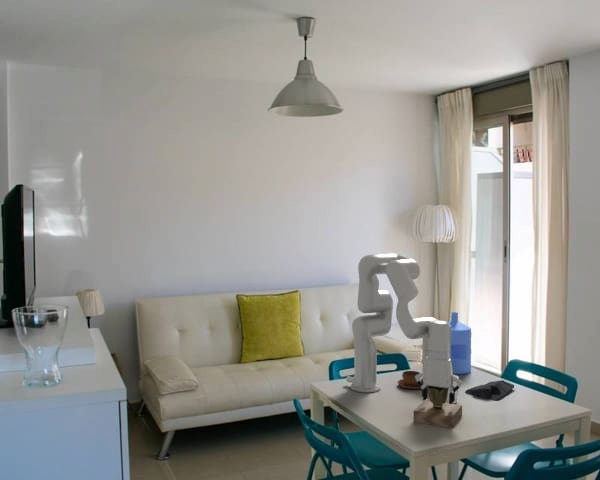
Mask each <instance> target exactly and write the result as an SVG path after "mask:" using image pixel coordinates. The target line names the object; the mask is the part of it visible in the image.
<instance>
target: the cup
mask: <svg viewBox="0 0 600 480" xmlns="http://www.w3.org/2000/svg"><path fill="white" fill-rule="evenodd" d="M426 387H427V388H428V399H429V400H430V401H431V402H432V403H433V407H434V408H436V409H441V408H442V407H443V404H444V403H445V402H446V400H447V395H448V388H440V387H433V386H426Z"/></svg>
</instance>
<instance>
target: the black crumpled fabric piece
mask: <svg viewBox="0 0 600 480" xmlns="http://www.w3.org/2000/svg"><path fill="white" fill-rule="evenodd" d="M514 388H515V384H513V383H511V382H508V381H506V380H503V379H502V380H495V381H489V382H487V383H486V384H480V385H476V386H474V387H471V388H468V389H467V390H465V391H464V393H465V394H466V395H469V396H472V397H476V398H479V399H483V400H489V401H499V400H500V399H502V398H503V397H505V396H506V395H507V394H509V393H510V392H511V391H512V390H513V389H514Z"/></svg>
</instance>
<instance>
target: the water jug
mask: <svg viewBox="0 0 600 480" xmlns="http://www.w3.org/2000/svg"><path fill="white" fill-rule="evenodd" d="M450 313H451V316H450V317H451V319H450V320H449V321H448V322H447V323H448V324H449V325H451V363H452V371H453V375H465V374H468V373H471V371H472V361H471V360H472V328H471V327H470V326H468V325H466V324H464V323H462V322H460V321H459V320H458V319H459V318H458V317H459V316H458V315H459V313H458V312H455V311H454V312H453V311H452V312H450Z"/></svg>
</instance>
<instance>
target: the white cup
mask: <svg viewBox="0 0 600 480" xmlns="http://www.w3.org/2000/svg"><path fill="white" fill-rule="evenodd" d="M453 376H455V377H456V378H458V379H459V380H460V377H459V376H458V375H457V374H453ZM452 385H453V386H454V388H455V387H456V386H457V383H456V382H455V381H453V384H452ZM449 393H450V391H449V389H448V395H447V400H446V402H445V403H449ZM458 395H459V389H458V390H457V391H456V392H455V401H454V402H453V403H452V404H457V403H458Z"/></svg>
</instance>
